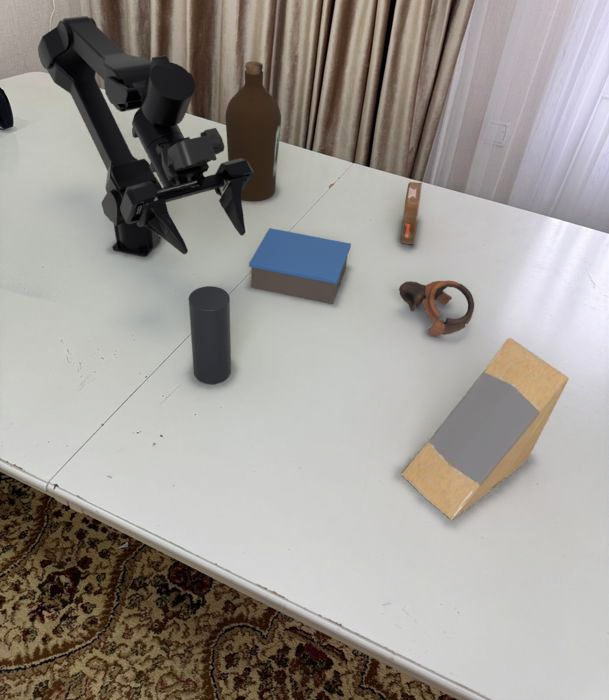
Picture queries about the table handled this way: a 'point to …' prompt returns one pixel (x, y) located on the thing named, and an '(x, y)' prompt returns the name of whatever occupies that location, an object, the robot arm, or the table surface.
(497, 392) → the sandwich container
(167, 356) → the table surface
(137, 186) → the robot arm
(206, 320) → the dark grey cylinder
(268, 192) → the olive oil
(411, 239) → the tin
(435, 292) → the brown ring with knob
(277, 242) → the container
